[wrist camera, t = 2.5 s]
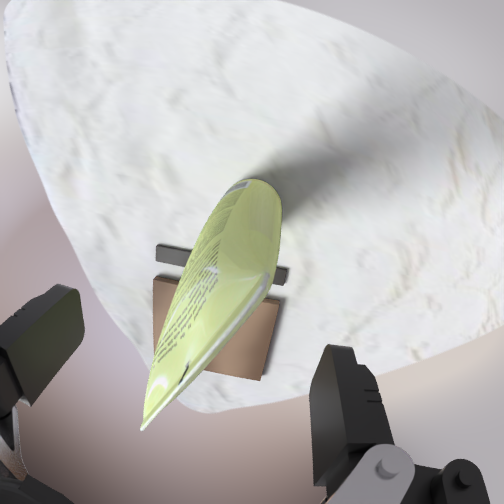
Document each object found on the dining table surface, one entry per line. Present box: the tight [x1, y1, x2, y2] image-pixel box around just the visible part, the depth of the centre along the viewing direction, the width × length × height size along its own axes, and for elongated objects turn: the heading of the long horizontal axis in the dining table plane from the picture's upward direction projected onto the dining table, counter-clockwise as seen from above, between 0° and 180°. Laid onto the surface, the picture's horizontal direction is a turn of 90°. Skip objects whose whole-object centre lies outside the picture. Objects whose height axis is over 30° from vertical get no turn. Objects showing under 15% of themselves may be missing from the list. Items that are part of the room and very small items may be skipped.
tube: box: [140, 179, 282, 431], centre depth 16 cm, size 6×5×20 cm
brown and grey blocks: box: [153, 245, 287, 381], centre depth 29 cm, size 12×13×1 cm
